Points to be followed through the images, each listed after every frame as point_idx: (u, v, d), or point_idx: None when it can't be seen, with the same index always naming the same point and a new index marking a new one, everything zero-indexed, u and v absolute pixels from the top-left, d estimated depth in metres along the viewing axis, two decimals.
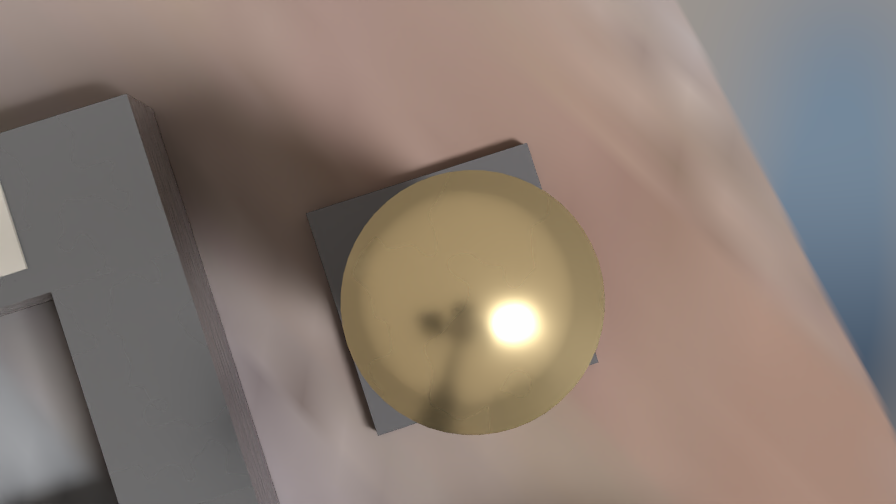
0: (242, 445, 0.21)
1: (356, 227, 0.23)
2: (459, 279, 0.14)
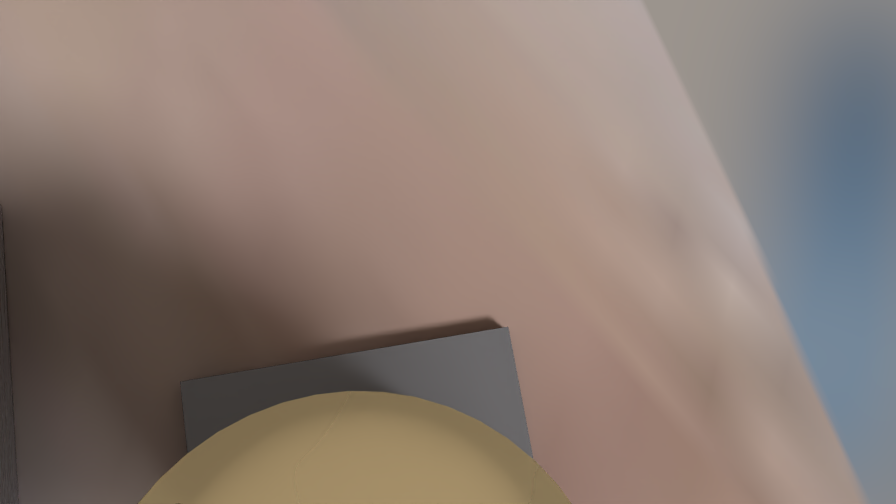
0: None
1: (248, 412, 0.16)
2: None
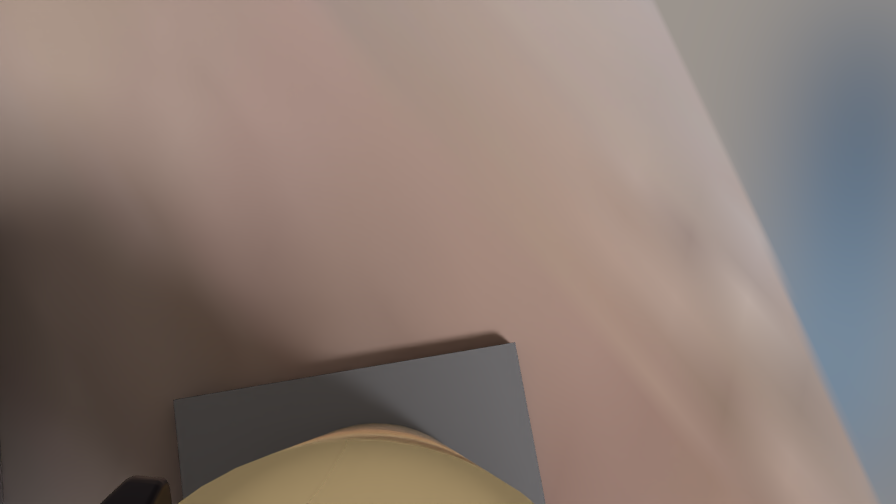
0: None
1: (244, 432, 0.15)
2: None
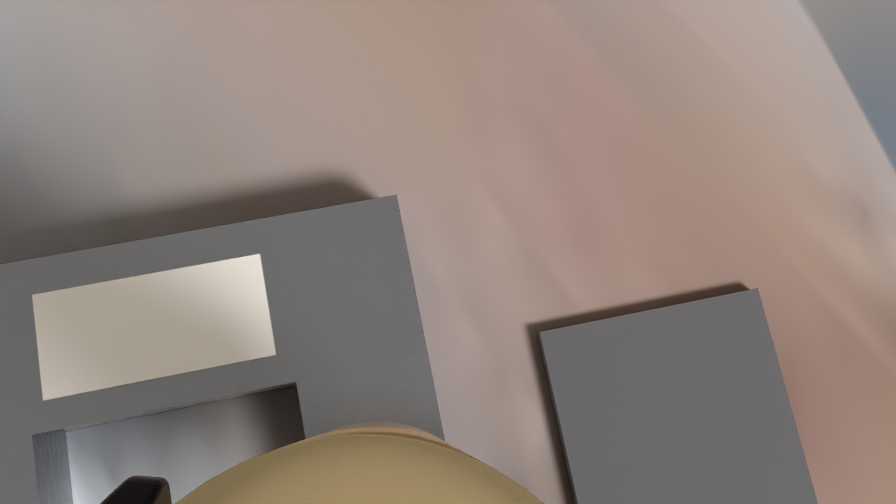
0: None
1: (587, 351, 0.22)
2: None
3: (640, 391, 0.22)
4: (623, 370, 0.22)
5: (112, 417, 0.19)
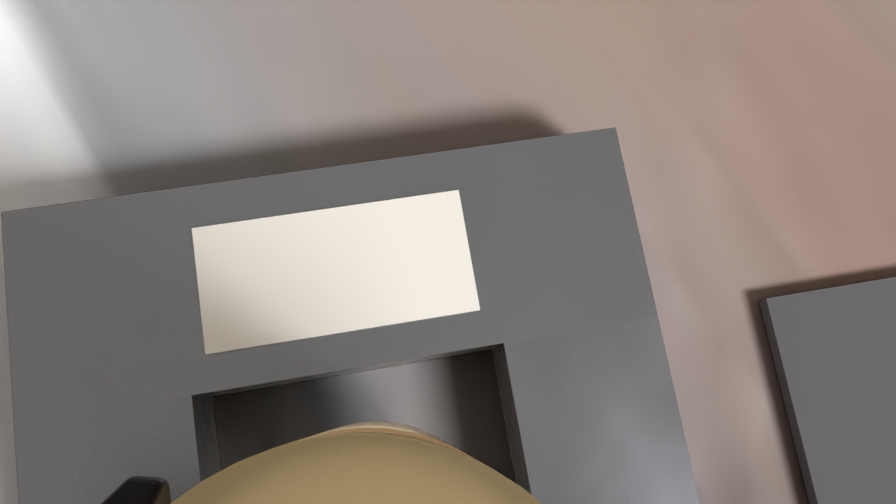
0: None
1: (821, 323, 0.19)
2: None
3: (885, 371, 0.19)
4: (864, 346, 0.19)
5: (287, 378, 0.16)
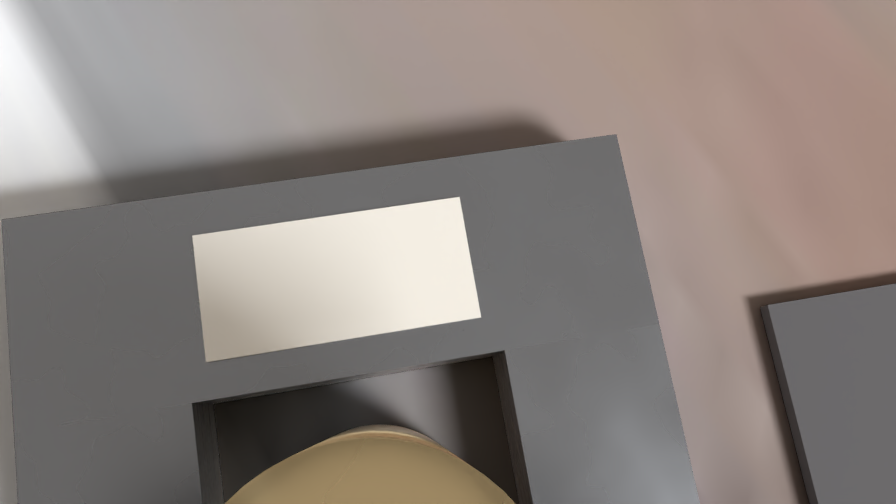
0: None
1: (823, 330, 0.19)
2: None
3: (887, 378, 0.19)
4: (866, 353, 0.19)
5: (288, 385, 0.16)
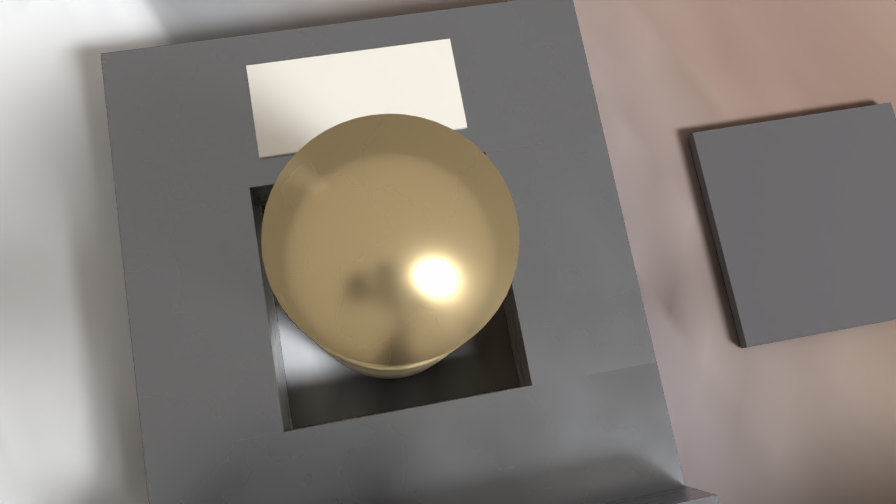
0: None
1: (736, 152, 0.24)
2: (381, 211, 0.14)
3: (785, 188, 0.24)
4: (769, 169, 0.24)
5: None
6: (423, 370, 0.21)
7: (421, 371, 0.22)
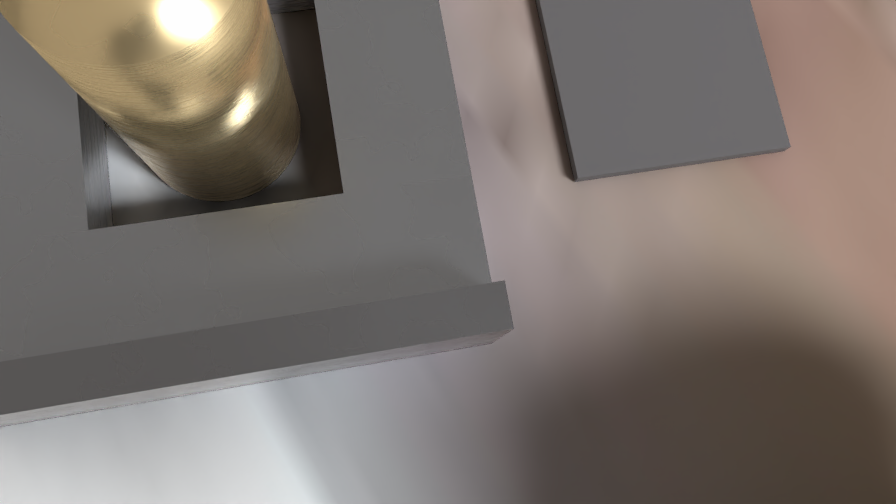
0: None
1: None
2: None
3: (625, 28, 0.24)
4: (610, 10, 0.24)
5: None
6: (243, 186, 0.22)
7: (244, 190, 0.22)
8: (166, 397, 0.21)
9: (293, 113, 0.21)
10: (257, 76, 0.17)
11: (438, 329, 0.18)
